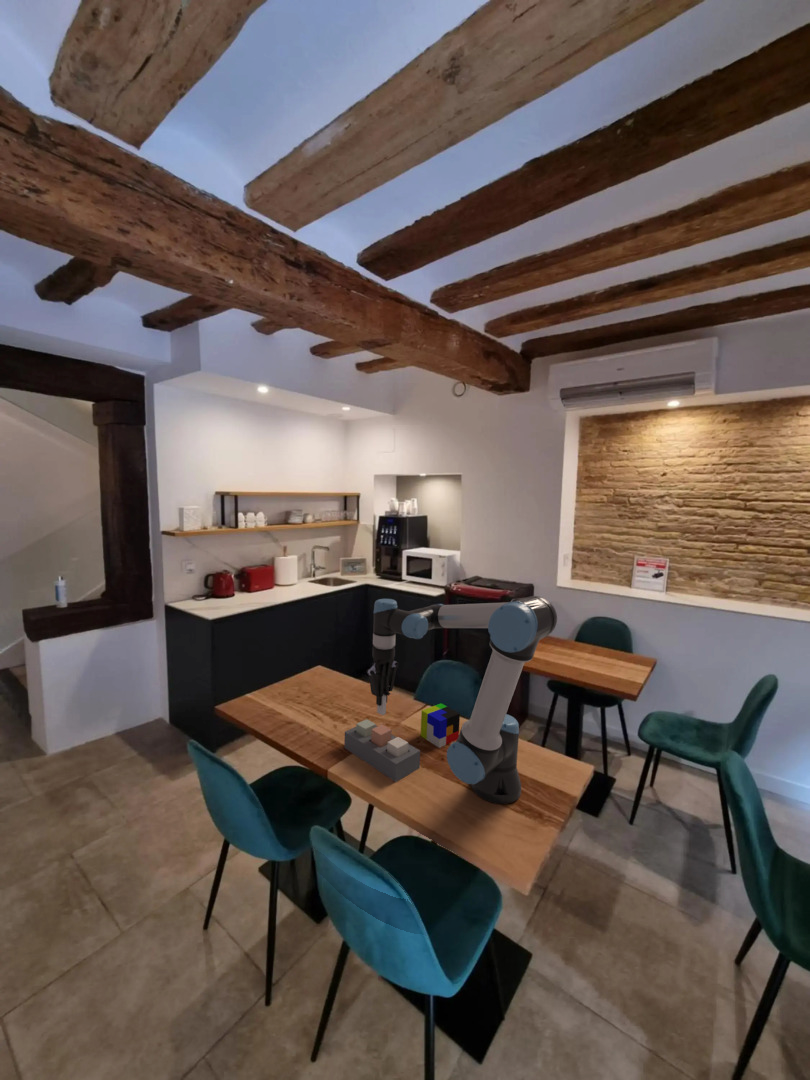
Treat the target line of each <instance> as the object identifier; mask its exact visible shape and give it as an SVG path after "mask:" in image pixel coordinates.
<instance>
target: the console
mask: <svg viewBox="0 0 810 1080" xmlns="http://www.w3.org/2000/svg"><path fill="white" fill-rule="evenodd" d="M378 726H379V725H378ZM378 726H377V725H376V727H378ZM397 737H398V736H395V735H393V734H392V733H391V740H393V739H395V738H397ZM343 744H344V747H343V748H344V749H345V750H347V751H348V752H349V753H352V754H353V755H355V756H356V757H357V758H359V759H360V760H362V761H363V762H365V764H368V765H370V767H372V768H374V769H375V770H377V771H378V772H380V773H381V774H383V775H385V776H386V777H387V778H388V779H390V780H392V781H393V782H394V783H397V782H399V781H400V780H402V779H403V778H405V777H406V776H409V775H410V774H411V773H413V772H415V771H417V770H418V769H420V768H421V766H420V765H421V750H420V749H419V748H417V747H415V746H413V745H411V744H409V743H408V753H406V754H404V755H402V756H401V757H399V758H397V757H395V756H393V755H392V754H390V753H388V752H387V745H388V744H387V745H385V746H383V747H381V748H380V747H379V746H377V745H375V744H374V743H372V742H371V736H368V737H366V738H364V737H362V736H361V735H359V734H357V733H356V726H355V727H352V728H349V729H348V730H346V731H344V742H343Z"/></svg>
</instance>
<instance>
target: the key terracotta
mask: <svg viewBox="0 0 810 1080" xmlns="http://www.w3.org/2000/svg"><path fill="white" fill-rule="evenodd" d="M392 733H393V732H392V729H390V728H389V727H387V726H386V725H383V724H380V725H378V727H376V728H373V729H372V731H371V742H372V743H374V744H375V745H377V746H379V747H380V748H381V747H383V746H385V745H387V744H388V742H389V741H391V734H392Z"/></svg>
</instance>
